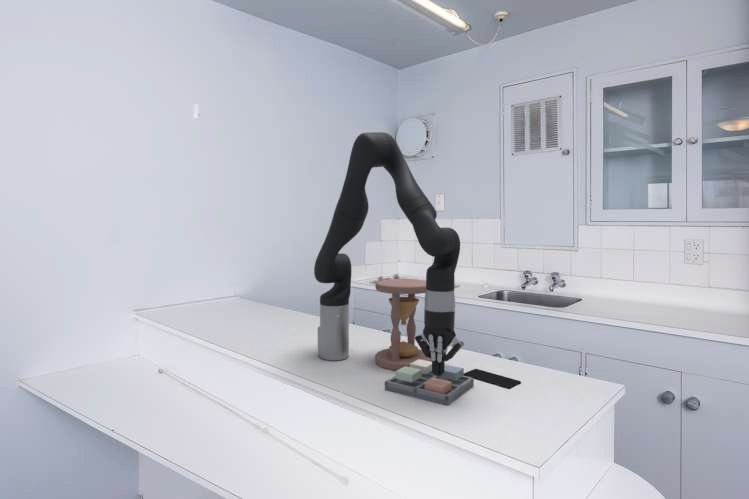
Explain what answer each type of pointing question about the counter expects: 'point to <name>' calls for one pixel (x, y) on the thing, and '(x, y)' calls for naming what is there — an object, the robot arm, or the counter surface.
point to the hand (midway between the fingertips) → (438, 375)
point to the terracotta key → (438, 385)
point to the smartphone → (492, 378)
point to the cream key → (422, 366)
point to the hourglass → (401, 309)
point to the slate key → (452, 372)
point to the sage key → (408, 374)
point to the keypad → (419, 391)
